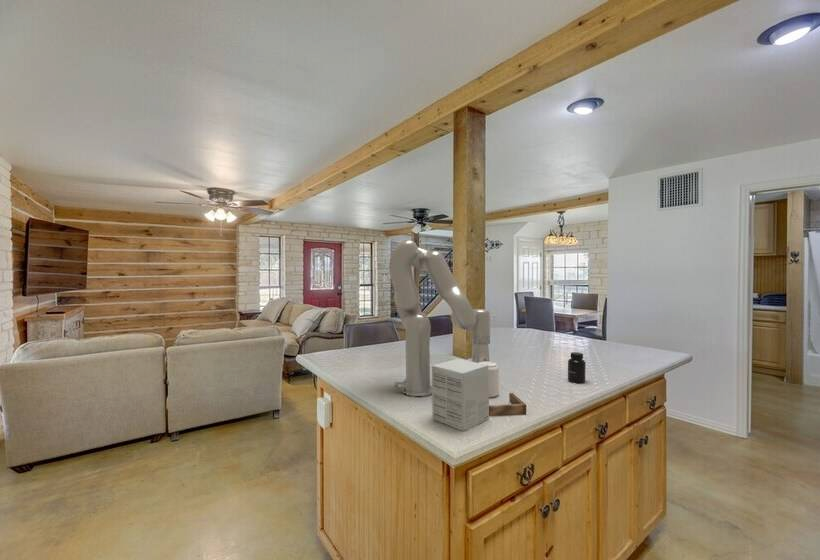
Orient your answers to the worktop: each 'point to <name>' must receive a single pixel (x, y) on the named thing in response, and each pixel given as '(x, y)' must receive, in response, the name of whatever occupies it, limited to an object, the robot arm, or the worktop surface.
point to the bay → (508, 407)
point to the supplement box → (460, 393)
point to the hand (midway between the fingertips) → (481, 384)
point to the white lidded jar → (492, 378)
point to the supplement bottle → (576, 368)
